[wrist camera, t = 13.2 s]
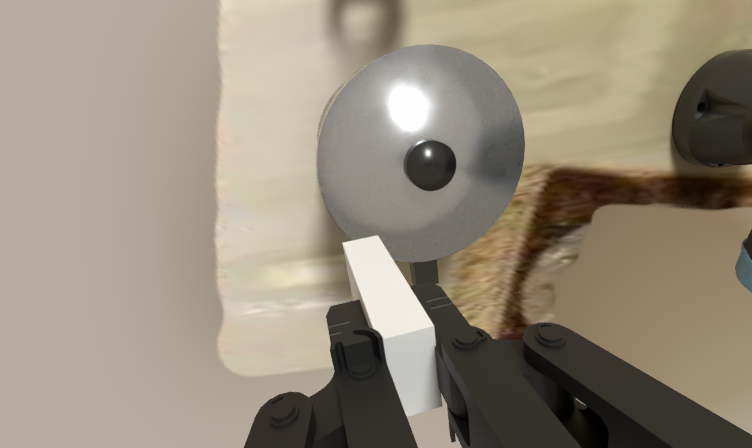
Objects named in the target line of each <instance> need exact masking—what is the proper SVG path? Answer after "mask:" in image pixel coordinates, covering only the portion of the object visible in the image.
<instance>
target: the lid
mask: <svg viewBox="0 0 752 448" xmlns="http://www.w3.org/2000/svg"><path fill="white" fill-rule="evenodd" d="M524 149H525V141H524V129H523V123H522V118H521V115H520V112H519V109H518V105H517V103H516V101H515V99H514V97H513V95H512V93H511V91H510V90H509V88H508V87H507V85H506V84H505V82H504V81H503V80H502V78H501V77H500V76H499V75H498V74H497V73H496V72H495V71H494V70H493V69H492V68H491V67H490V66H488V65H487V64H486V63H485V62H483V61H482V60H480V59H478V58H477V57H475V56H474V55H472V54H469V53H467V52H465V51H462V50H460V49H456V48H452V47H448V46H441V45H416V46H411V47H406V48H402V49H399V50H396V51H393V52H390V53H388V54H385V55H382V56H380V57H378V58H377V59H375V60H373V61H371V62H369V63H368V64H366V65H365V66H364V67H362V68H361V69H360V70H358V71H357V72H356V73H355V74H354V75H353V76H352V77H351V78H350V79H349V80H348V81H347V82H346V83H345V84H344V85H343V86H342V88H341V89H340V90H339V91H338V93H337V94H336V95H335V97H334V99H333V101H332V102H331V104H330V106H329V107H328V110H327V112H326V114H325V117H324V119H323V121H322V125H321V128H320V132H319V136H318V142H317V149H316V168H317V176H318V181H319V185H320V189H321V193H322V196H323V198H324V201H325V203H326V205H327V208H328V210H329V212H330V214H331V215H332V217H333V219H334V220H335V222H336V223H337V225H338V226H339V227H340V228H341V230H342V231H343V232H344V233H345V234H346V235H347V236H348V237H349V238H350V239H351V240H352V241H353V240H358V239H362V238H367V237H372V236H376V235H378V236H379V238H380V240H381V241H382V243H383V244H384V246H385V248H386V249H387V251H388V252H389V254H390V256H391V257H392V259H393V260H395V261H401V262H425V261H431V260H436V259H440V258H443V257H446V256H449V255H451V254H454V253H456V252H458V251H460V250H462V249H464V248H466V247H467V246H469V245H471V244H472V243H473V242H475V241H476V240H478V239H479V238H480V237H481V236H482V235H484V234H485V233H486V232H487V231H488V230H489V229H490V228H491V227H492V226H493V225H494V224H495V222H496V221H497V220H498V219H499V218H500V216H501V215H502V213H503V212H504V211H505V209H506V208H507V206H508V204H509V202H510V200H511V199H512V197H513V194H514V192H515V190H516V187H517V185H518V182H519V178H520V175H521V172H522V166H523V161H524Z"/></svg>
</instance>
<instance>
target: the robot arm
mask: <svg viewBox="0 0 752 448" xmlns="http://www.w3.org/2000/svg"><path fill="white" fill-rule="evenodd" d="M673 131H674V139H675V143H676V146H677V148H678V150H679V152H680V154H681V155H682V156H683V157H684V158H685V159H686V160H688V161H689V162H691V163H694V164H698V165H703V166H709V167H728V166H732V165H748V164H752V49H744V50H733V51H728V52H724V53H722V54H719V55H717V56H715V57H714V58H712V59H711V60H709V61H708V62H707V63H705V64H704V65H703V66H702V67H701V68H700V69H699V70H698V71H697V72H696V73H695V74H694V76H693V77H692V78H691V79H690V81H689V82H688V84H687V85H686V87H685V89H684V91H683V93H682V95H681V97H680V99H679V102H678V105H677V108H676V112H675V117H674V125H673ZM342 245H343V250H344V255H345V261H346V266H347V271H348V277H349V282H350V288H351V293H352V298H353V301H351V302H347V303H343V304H339V305H335V306H331V307H330V309H329V311H328V313H327V316H326V318H327V324H328V330H329V335H330V341H331V347H330V352H331V357H332V361H333V366H334V370H335V372H334V375H333V378H332V379H331V381H330V382H329V383H328V384H327V386H326V387H324V388H323V389H322V390H320V391H319V392H317V393H316V394H314V395H312V396H310V397H309V398H308V397H307V396H305V395H304V394H301V393H299V392H287V393H283V394H279V395H277V396H276V397H274V398H272V399H270V400H269V401H268V402H266V404H264V405H263V406H262V407H261V408H260V410H259V412H258V413H257V415H256V417H255V420H254V422H253V425H252V428H251V430H250V433H249V435H248V438H247V441H246V443H245V446H244V448H418V447H417V444H416V441H415V438H414V436H413V434H412V430H411V428H410V425H409V422H408V419H407V416H410V415H414V414H417V413H421V412H424V411H427V410H431V409H434V408H437V407H441V406H442V399H441V393H442V395H443V397H444V399H445V401H446V403H447V408H448V419H449V429H450V437H451V441H452V442H455V441H456V440H455V433H456V435H457V437H458V440H459V442H460V444H461V446H462V448H752V435H751V434H749V433H747V432H746V431H744V430H742V429H741V428H739V427H737V426H735V425H734V424H732V423H730V422H729V421H727V420H725V419H723V418H722V417H720V416H718V415H716V414H715V413H713V412H711V411H710V410H708V409H706V408H704V407H702V406H701V405H699V404H697V403H696V402H694V401H692V400H691V399H689V398H687V397H685V396H684V395H682V394H680V393H678V392H677V391H675V390H673V389H672V388H670V387H668V386H666V385H665V384H663V383H661V382H660V381H658V380H656V379H654V378H653V377H651V376H649V375H648V374H646V373H644V372H642V371H641V370H639V369H637V368H635V367H634V366H632V365H630V364H629V363H627V362H625V361H623V360H622V359H620V358H618V357H616V356H615V355H613V354H611V353H610V352H608V351H606V350H604V349H603V348H601V347H599V346H598V345H596V344H594V343H592V342H591V341H589V340H587V339H586V338H584V337H582V336H580V335H579V334H577V333H575V332H573V331H572V330H570V329H568V328H566V327H564V326H561V325H558V324H553V323H537V324H534V325H530V326H529V327H528V328H526V329H525V330H524V333H523V340H495V339H492V337H491V336H490V335H489V334H488V333H486V332H485V331H484V330H482V329H479V328H477V327H472V326H470V325H469V323H468V322H467V321H466V319H465V318H464V317H463V315H462V314H461V313H460V312H459V310H458V309H457V308H456V306H455V305H454V304H452V301H451V300H450V299H449V297H447V295H446V294H445V292H444V291H443V290H442V288H441V287H439V286H437V285H435V284H433V283H431V282H426V283H422V284H418V285H413V286H409V285H408V283H407V281H406V280H405V278H404V277H403V275H402V273H401V272H400V270H399V269H398V267H397V265H396V264H395V262H394V260H393V259H392V257H391V256H390V254H389V252H388V251H387V249H386V248H385V246H384V244H383V243H382V241H381V240H380V238H379V236H378V235H376V236H372V237H367V238H362V239H358V240H353V241H348V242H344V243H342ZM741 249H742V251H741V254H740V256H739V258H738V261H737V263H736V266H735V270H736V275H737V278H738V280H739V281H740V282H741V284H742V285H744V287H745V288H747V289H748V290H749V291H751V292H752V230H751V232H750V234H749V236H748V238H746V239H745V240H744V241H743V243H742V248H741ZM576 398H577V399H578V400H580V401H581V402H582V403H584V404H585V405H586V406H585V405H583V404H581V403H580V402H579V401H577V400H576Z"/></svg>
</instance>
